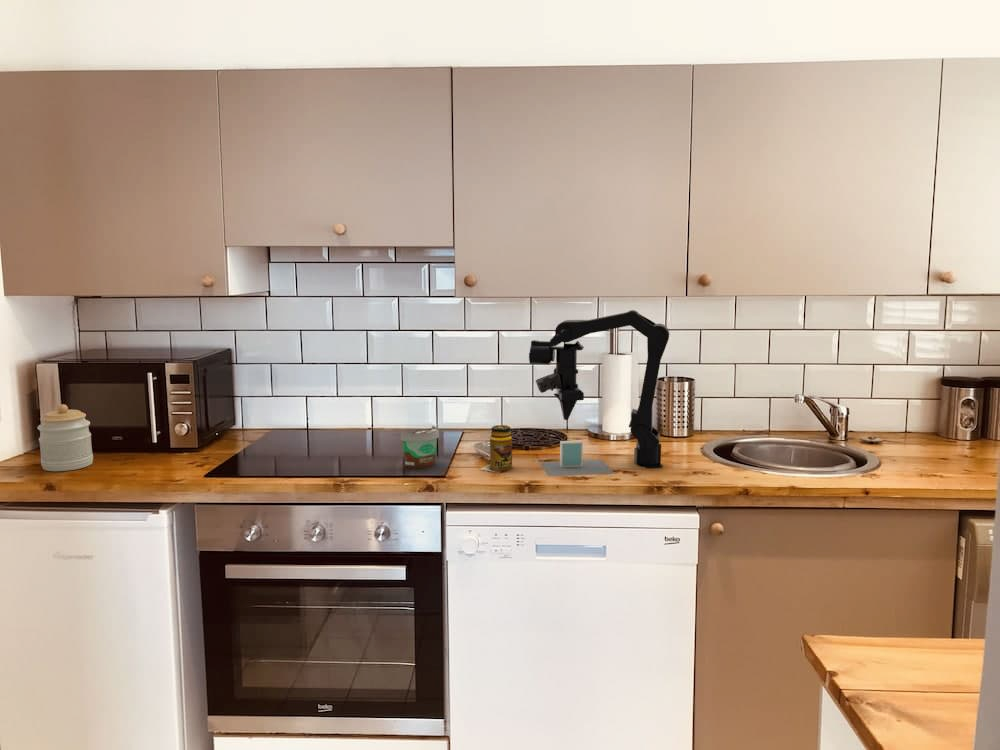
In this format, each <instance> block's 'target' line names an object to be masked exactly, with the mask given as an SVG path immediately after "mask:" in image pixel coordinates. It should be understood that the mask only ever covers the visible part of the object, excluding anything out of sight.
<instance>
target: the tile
mask: <svg viewBox="0 0 1000 750" xmlns="http://www.w3.org/2000/svg"><path fill="white" fill-rule="evenodd" d="M583 447H584V444H583V440H560V441H559V453H560V454H559V462H560V466H561V467H581V466H582V461H583V453H584V452H583V450H584V448H583Z"/></svg>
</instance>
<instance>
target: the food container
mask: <svg viewBox="0 0 1000 750" xmlns="http://www.w3.org/2000/svg"><path fill="white" fill-rule="evenodd" d="M438 438H440V432H439V429H438V427H437V426H435V425H432V426H431V428H429V429H426V430H417V431H414V432H412V433H410V432H409V433H408V432H401V435H400V440H401V441H402V447H403V456H404V465H405V467H406V468H409V469H410V468H411V469H424V468H430V467H433V466H435V465H436V458H437V457H436V456H437V445H438V444H437V442H438Z"/></svg>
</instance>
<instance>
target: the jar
mask: <svg viewBox="0 0 1000 750" xmlns="http://www.w3.org/2000/svg"><path fill="white" fill-rule="evenodd" d="M86 416H87V414H86V413H85V412H82V411H81V410H78V409H69V407H68V406H67V404H64V403H63V404H59V405H58V406H57V410H53V411H49V412H47V413H45V414H44V415H43V416H42V417H40V418H39V420H40V421H41V424H39V425H38V426H37V430H39V432H40V433H39V434H40V435H39V436H40V437H39V438H38V441H39V448H40V450H39V451H40V464H41V468H42V469H43V471H46V472H48V471H49V472H66V471H75V470H79V469H83V468H86V467H89V466H91V465H92V464H93V463H94V461H93V460H94V454H93V449H92V448H93V447H92V433H91V432H90V429H89V426H91V421H89V420H88V419H86Z"/></svg>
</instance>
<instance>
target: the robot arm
mask: <svg viewBox="0 0 1000 750" xmlns="http://www.w3.org/2000/svg"><path fill="white" fill-rule="evenodd" d="M628 326H629V327H630V326H631V327H632V328H633V329H635V330H636V331H638V332H639V333H640V334H641V335H643V336H645V337H646V339H647V343H646V344H647V346H646V347H647V359H646V360H647V361H646V367H645V372H644V375H643V376H644V377H643V381H642V388H641V393H640V400H639V405H638V408H637V409H635V408H632V410H631V412H630V418H631V419H630V422H629V424H628V427H629V428H630V434H631V436H632V437H633V438H634V439H635V440H637V441H636V443H635V444H636V445H635V448H634V450H633V451H634V453H633V454H634V455H633V461H634V463H635V464H636V465H638V467H641V468H649V469H650V468H663V464H662V461H661V460H662V459H661V458H662V444H661V443H660V436H661V434H660V432H659V431H658V430H657V429H656V427H654V424H653V423H654V421H653V420H654V419H653V417H654V416H653V412H654V409H653V408H654V407H653V404H654V399H655V394H656V388H657V381H658V376H659V371H660V366H661V360H662V358H663V355H664V353H665V350H666V347H667V345H668V342H669V340H670V339H669V338H670V330H669V328H668V327H667V326H666V325H665V324H662V323H655V322H654V321H652V320H650V319H649V318H647V317H645V316H643V315H642V314H641V313H639V312H638V311H637V310H635V309H632V310H631V309H630V310H629V311H626V312H620V313H616V314H612V315H606V316H601V317H597V318H590V319H566V320H564V321H562V322H560V323H558V325H557V326H556V327H555V330H554V333H555V334H554V335H553V337H552V338H551V339H550V340H549V341H548V340H547V341H544V340H542V341H541V340H540V341H539V340H531V342H530V346H529V347H530V348H529V353H528V361H529V365H536V366H537V365H542V366H545V365H546V366H550V365H551V363H552V362H555V363H556V366H555V367H554V369H553V373H551V374H548V375H546V376H545V375H544V376H542V377H540V378H537V379H536V380H535V384H536V386H537V388H538V391H539V392H540V393H543V394H544V393H546V392H547V391H554V390H556V393H553V395H554V396H555V398H557V400H558V401H559V406H560V409H561V412H562V418H563V420H564V421H568V420H569V418H570V416H571V413H572V411H573V409H574V407H575V405H576V403H577V402H578V401H584V400H585V399H584V398H585V393H584V391H582V390H581V389H580V388H579V384H578V383H577V374H579V369H577V363H578V362H577V361H578V360H577V357H578V356H577V355H578V354H577V353H578V351H583V349H585V347H584V346H583V345H582V344H581V343H580V341H579V340H577V339H579V338H583V337H584V336H587V335H589V334H594V333H600V332H604V331H608V330H613V329H618V328H620V329H621V328H624V327H628ZM575 340H576V342H575V343H570V342H572V341H575ZM561 343H564V344H563V346H558V345H560V344H561ZM555 359H556V360H555Z"/></svg>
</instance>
